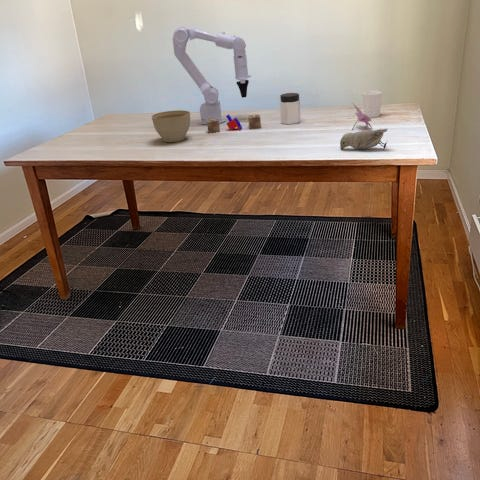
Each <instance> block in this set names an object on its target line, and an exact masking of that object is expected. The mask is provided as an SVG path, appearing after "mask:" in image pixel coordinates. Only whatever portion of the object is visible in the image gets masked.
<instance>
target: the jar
mask: <svg viewBox="0 0 480 480" xmlns="http://www.w3.org/2000/svg"><path fill="white" fill-rule="evenodd" d="M279 98H280V101H279V109H280V110H279V111H280V123H281V124H284V125H295V124H299V123H300V122H301V99H300V94H299V93H298V92H287V93H282V94H280V97H279Z"/></svg>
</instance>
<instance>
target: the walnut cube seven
mask: <svg viewBox="0 0 480 480" xmlns="http://www.w3.org/2000/svg"><path fill="white" fill-rule="evenodd" d="M206 125H207V134H216V132H218V133H220V132H221V126H220V124H219V119H209V120H207V124H206Z"/></svg>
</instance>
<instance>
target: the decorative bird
mask: <svg viewBox="0 0 480 480" xmlns="http://www.w3.org/2000/svg"><path fill="white" fill-rule="evenodd" d="M386 132H388V128H380V129H376V130H375V129H374V130H363V131H357V132H347V133H345V134H343V135H342V137H341V138H340V144H339V145H340V146H339V147H340V150H344V149H345V148H348V147H351V148H353V149H355V150H365V149H366V150H367V149H371V148H374V147H377V145H380V146H381V147H383V149H382V150H383V151H385V149H386V147H387V144H388V140H386V141H385V143H383V141H382V138H383V136H384V133H386Z"/></svg>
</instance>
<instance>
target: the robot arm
mask: <svg viewBox="0 0 480 480" xmlns="http://www.w3.org/2000/svg"><path fill="white" fill-rule="evenodd" d="M195 39H198V40H204V41H208V42H212V43H214V44H215V46H216V47H220V48H222V49H227V50H233V64H234V72H235V73H234V74H235V77H234V78H235V80H237V81H236V85H237V87H238V90H239V92H240V93H239V94H240V96H241V98H247V94H248V86H249V83H250V81H249V79H250V78H251V77H252V75H249V71H248V62H247V61H248V60H247V54H246V52H247V51H246V46H247V45H246V42H245V40H244V38H242V37H240V36H237V35H235V34H233V35H231V34H226V32H225V31H222V32H218V33H216V34H214V33H212V32H209V31H204V30H200V29H197V28H193V27H185V26H180V27H178V28H176V29H175V30H174V32H173V36H172V45H173V55H174V56H175V58H176V59H177V60H178V62H179V63H180V65H182V67H183V68H184V70H185V71H186V73H188V75H189V77H191V79H192V80H193V82H194V83H195V84H196V85H197V88H199V90H200V92H201V94H202V95H203V97H204V103H202V104H201V105H200V107H199V113H200V114H199V115H200V123H199V124H201V125H207V120H209V119H219V125H220V124H222V123H225V122H226V119H223V118H222V117H223V116H222V108H221V101H220V100H219V91H218V89H217V88H216V87H213V85H211V83H210V82H209V81H208V80H207V79H206V77H205V76H204V75H203V73H202V72H201V71H200V69H199V68H198V67H197V65H196V64H195V62H194V61H193V60H192V59H191V57H190V55H189V54H188V53H187V52H186V50H187V44H188V42H189V41H192V40H195ZM248 78H249V79H248Z"/></svg>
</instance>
